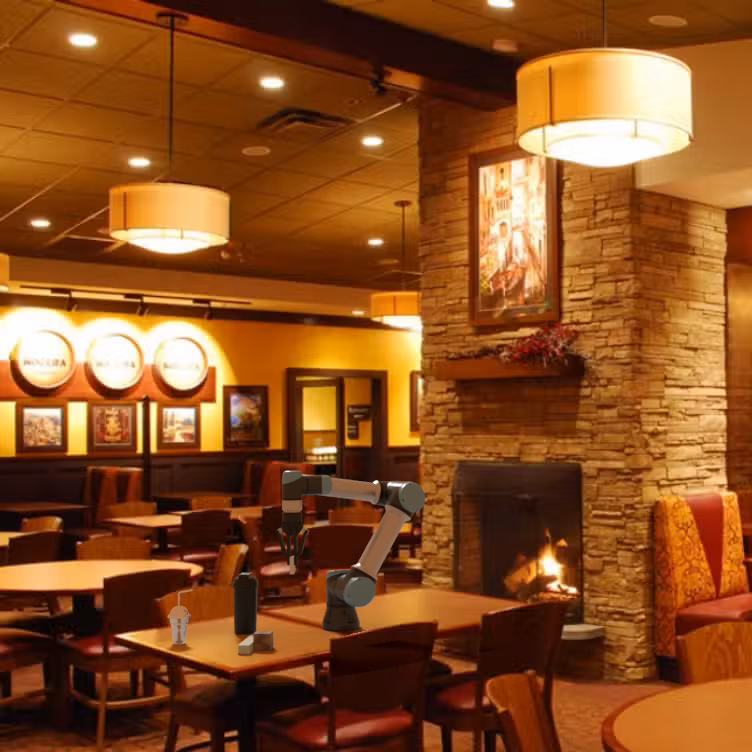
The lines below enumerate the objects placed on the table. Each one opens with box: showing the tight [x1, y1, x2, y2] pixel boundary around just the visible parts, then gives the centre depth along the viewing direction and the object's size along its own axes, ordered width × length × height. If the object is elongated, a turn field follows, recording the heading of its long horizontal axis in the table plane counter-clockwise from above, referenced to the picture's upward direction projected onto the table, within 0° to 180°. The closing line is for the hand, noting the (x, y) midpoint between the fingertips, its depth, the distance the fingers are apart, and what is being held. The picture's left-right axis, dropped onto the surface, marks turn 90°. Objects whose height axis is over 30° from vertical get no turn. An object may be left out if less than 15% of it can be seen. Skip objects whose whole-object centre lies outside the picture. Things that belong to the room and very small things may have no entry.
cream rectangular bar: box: [237, 634, 254, 655], centre depth 404 cm, size 4×20×3 cm, turn 174°
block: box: [252, 630, 274, 652], centre depth 404 cm, size 6×6×6 cm
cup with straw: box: [167, 588, 194, 646], centre depth 415 cm, size 8×9×20 cm
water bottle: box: [231, 572, 259, 635], centre depth 437 cm, size 10×10×23 cm
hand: (292, 573), depth 424 cm, fingers closed
